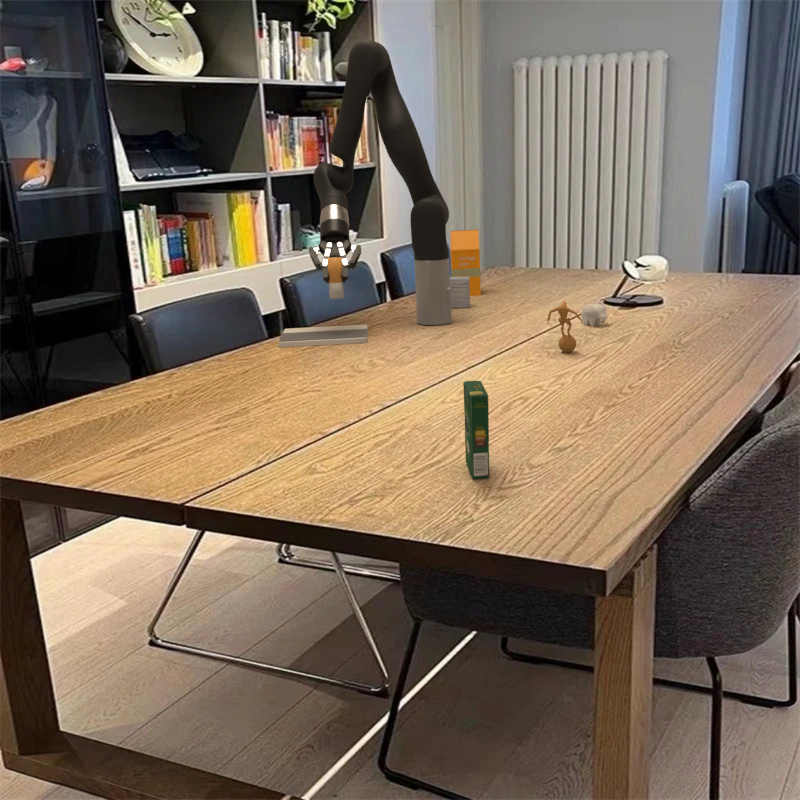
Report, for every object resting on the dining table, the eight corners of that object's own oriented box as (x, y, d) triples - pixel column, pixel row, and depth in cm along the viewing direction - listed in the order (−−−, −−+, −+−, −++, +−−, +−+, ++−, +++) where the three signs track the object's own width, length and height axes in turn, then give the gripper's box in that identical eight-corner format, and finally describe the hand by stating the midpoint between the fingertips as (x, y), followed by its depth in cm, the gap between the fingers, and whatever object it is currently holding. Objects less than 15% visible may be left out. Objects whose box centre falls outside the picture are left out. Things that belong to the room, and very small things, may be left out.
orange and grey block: (344, 296, 244) (341, 256, 241) (343, 298, 241) (341, 258, 238) (329, 296, 244) (327, 257, 241) (329, 299, 240) (326, 259, 238)
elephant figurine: (597, 329, 242) (597, 305, 240) (572, 325, 248) (572, 302, 246) (614, 325, 246) (614, 301, 245) (589, 321, 252) (589, 299, 251)
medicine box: (470, 305, 284) (469, 276, 282) (469, 308, 280) (469, 278, 277) (443, 306, 285) (442, 277, 283) (442, 309, 281) (441, 279, 278)
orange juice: (480, 295, 301) (479, 230, 295) (452, 296, 301) (450, 232, 296) (479, 291, 308) (477, 228, 303) (451, 292, 308) (449, 229, 303)
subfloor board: (367, 328, 257) (367, 323, 256) (367, 342, 239) (367, 337, 239) (285, 333, 256) (284, 328, 256) (278, 347, 239) (278, 341, 239)
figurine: (588, 351, 218) (588, 299, 215) (578, 357, 213) (578, 303, 210) (553, 349, 222) (553, 297, 219) (543, 354, 218) (542, 302, 214)
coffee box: (491, 479, 141) (489, 393, 138) (471, 480, 141) (469, 394, 138) (483, 461, 149) (481, 379, 146) (465, 462, 149) (462, 380, 145)
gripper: (305, 218, 245) (305, 272, 237) (361, 216, 245) (363, 270, 237) (308, 237, 252) (308, 290, 243) (362, 235, 252) (364, 288, 243)
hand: (335, 280), depth 240 cm, fingers closed on orange and grey block, 3 cm apart
